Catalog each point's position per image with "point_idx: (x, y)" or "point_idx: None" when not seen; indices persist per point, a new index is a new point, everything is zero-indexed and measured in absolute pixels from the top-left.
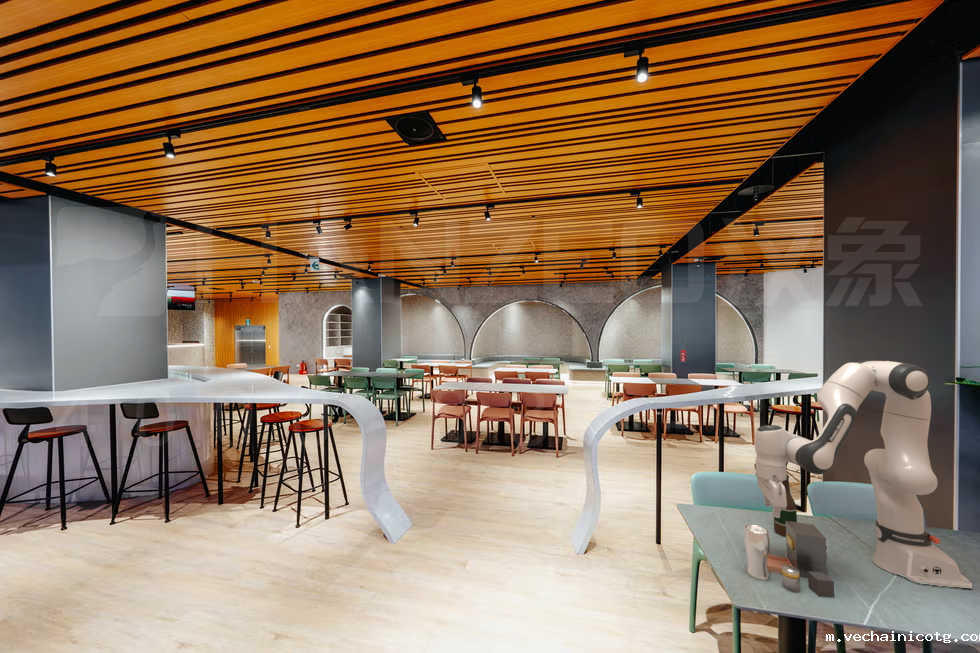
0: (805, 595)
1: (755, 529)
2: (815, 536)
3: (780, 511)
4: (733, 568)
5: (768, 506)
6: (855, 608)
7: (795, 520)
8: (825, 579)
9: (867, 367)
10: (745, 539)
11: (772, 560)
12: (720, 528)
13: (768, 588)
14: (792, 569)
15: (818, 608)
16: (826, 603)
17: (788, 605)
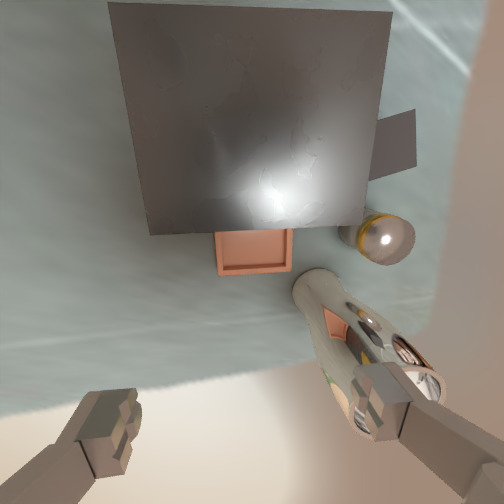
0: (383, 200)
1: (342, 387)
2: (378, 97)
3: (464, 419)
4: (305, 335)
5: (134, 400)
6: (420, 77)
7: None
8: (409, 137)
9: None
10: None
11: (232, 245)
12: (58, 350)
13: (372, 277)
14: (395, 237)
15: (434, 186)
16: None
17: (431, 250)
